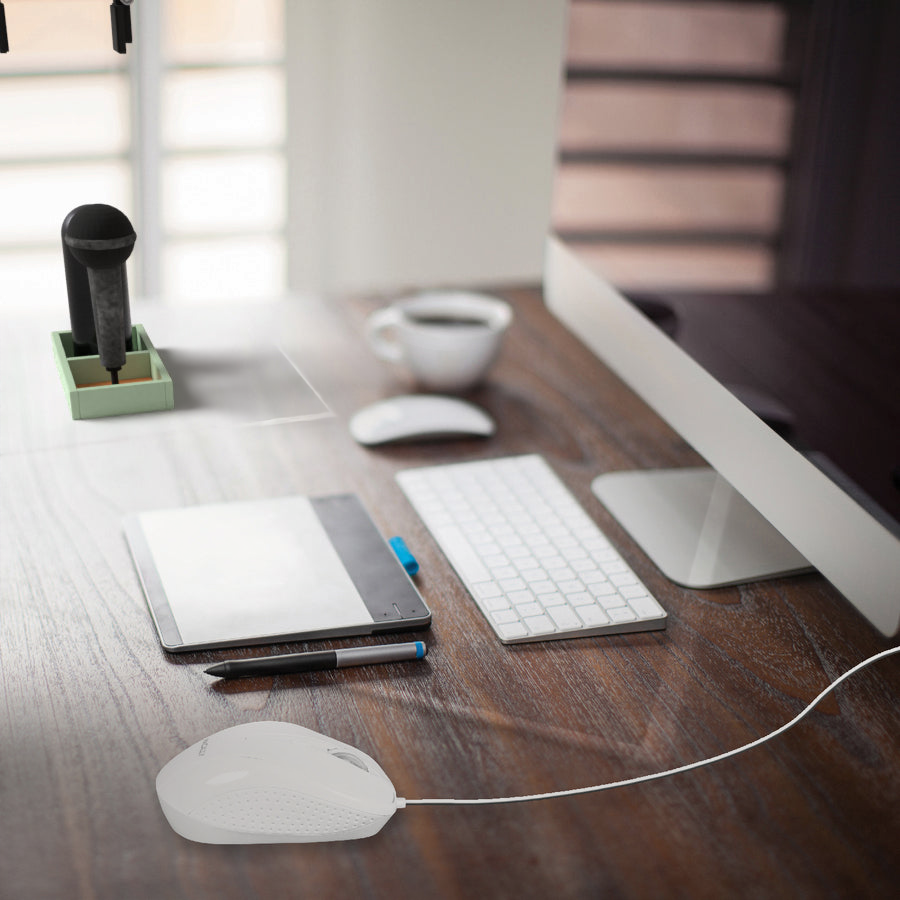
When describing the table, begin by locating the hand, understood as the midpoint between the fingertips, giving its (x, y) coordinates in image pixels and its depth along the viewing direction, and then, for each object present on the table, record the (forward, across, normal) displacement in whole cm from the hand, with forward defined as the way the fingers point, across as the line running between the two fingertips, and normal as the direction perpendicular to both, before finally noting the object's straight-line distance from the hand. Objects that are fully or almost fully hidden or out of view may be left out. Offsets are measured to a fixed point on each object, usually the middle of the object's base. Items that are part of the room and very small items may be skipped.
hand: (62, 52), depth 99 cm
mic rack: (+35, -3, -12) cm, 37 cm away
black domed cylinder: (+35, -3, -17) cm, 39 cm away
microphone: (+35, -3, -7) cm, 36 cm away
